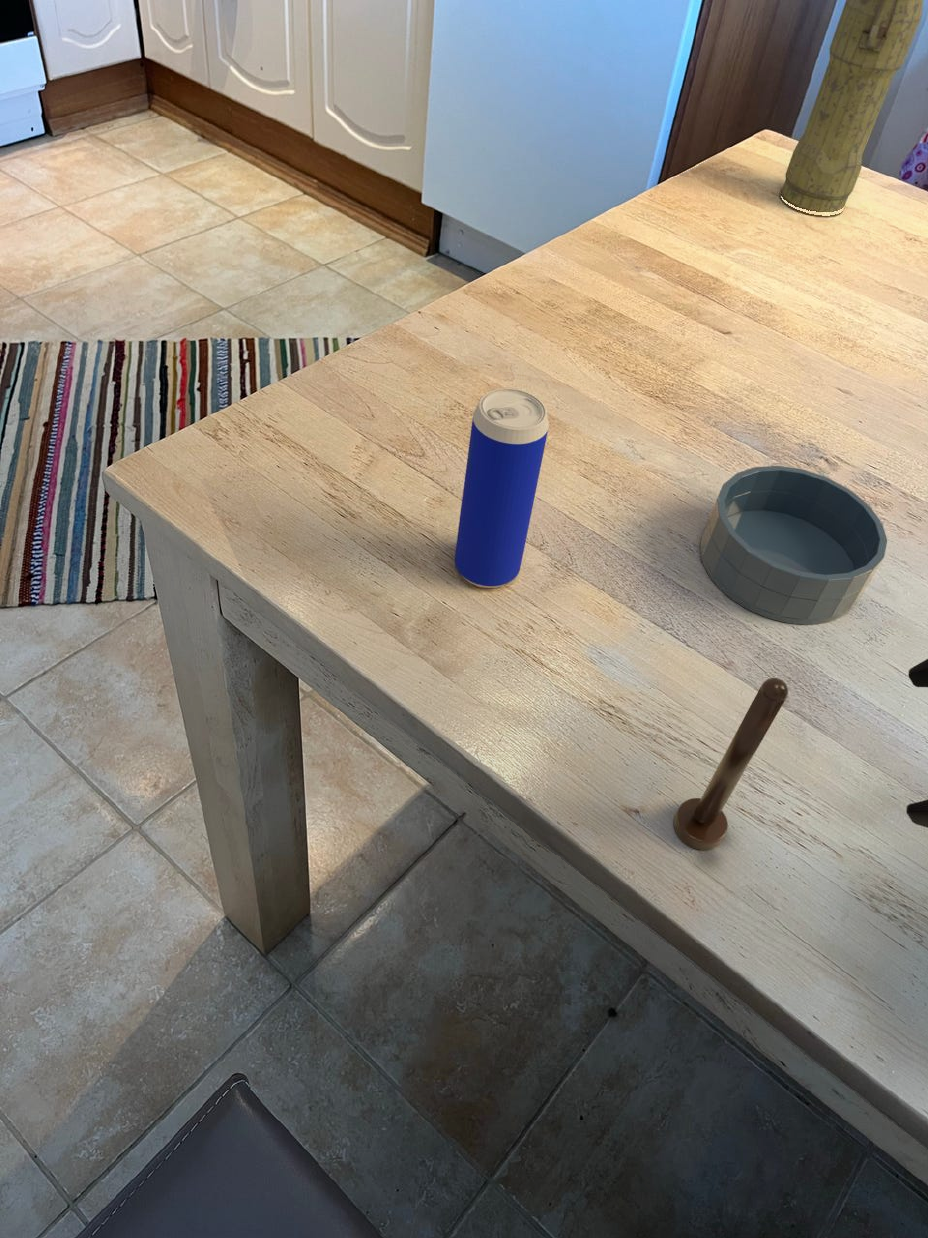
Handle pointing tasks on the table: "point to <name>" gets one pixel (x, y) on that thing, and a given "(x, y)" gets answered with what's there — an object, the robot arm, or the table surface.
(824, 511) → the bowl
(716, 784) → the stirrer
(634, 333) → the table surface
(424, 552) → the table surface
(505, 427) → the beverage can
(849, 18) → the olive tall cylinder
